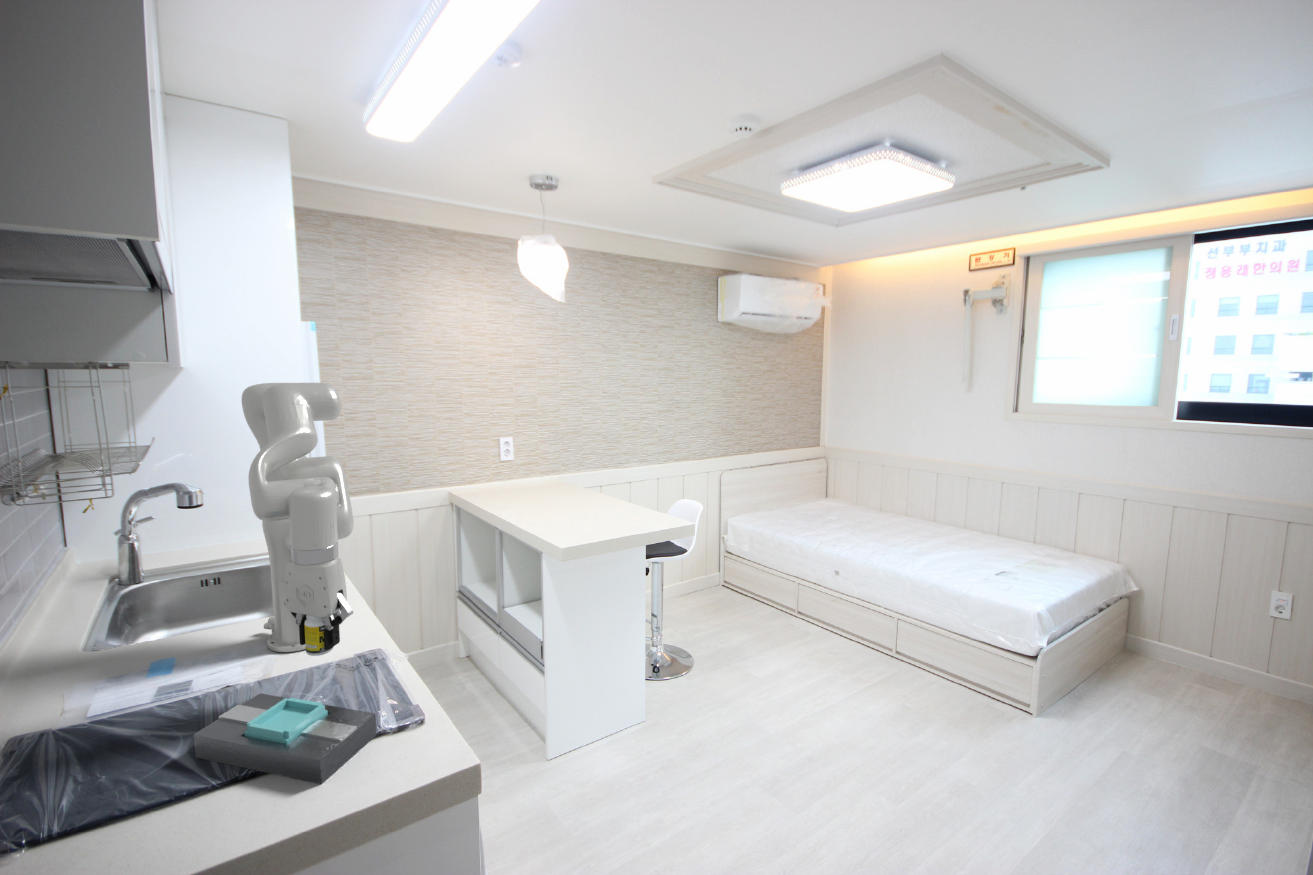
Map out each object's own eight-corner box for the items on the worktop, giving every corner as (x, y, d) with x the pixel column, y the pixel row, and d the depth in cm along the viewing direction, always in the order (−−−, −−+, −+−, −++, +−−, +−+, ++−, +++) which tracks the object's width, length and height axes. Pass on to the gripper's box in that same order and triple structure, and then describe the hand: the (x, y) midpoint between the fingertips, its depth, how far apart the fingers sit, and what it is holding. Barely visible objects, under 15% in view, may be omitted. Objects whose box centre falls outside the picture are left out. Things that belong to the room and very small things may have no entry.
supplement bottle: (321, 658, 108) (319, 616, 107) (299, 654, 109) (297, 612, 108) (340, 645, 113) (338, 605, 112) (319, 642, 114) (317, 601, 112)
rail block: (195, 757, 93) (193, 732, 93) (261, 713, 105) (259, 691, 104) (321, 784, 88) (319, 757, 87) (376, 735, 100) (375, 711, 99)
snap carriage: (245, 743, 93) (243, 725, 93) (288, 713, 101) (286, 696, 101) (287, 752, 91) (286, 733, 91) (328, 721, 99) (327, 703, 99)
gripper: (259, 554, 106) (266, 646, 109) (339, 566, 102) (343, 661, 105) (293, 541, 113) (299, 627, 116) (369, 551, 110) (372, 641, 113)
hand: (320, 642), depth 111 cm, fingers closed on supplement bottle, 4 cm apart
